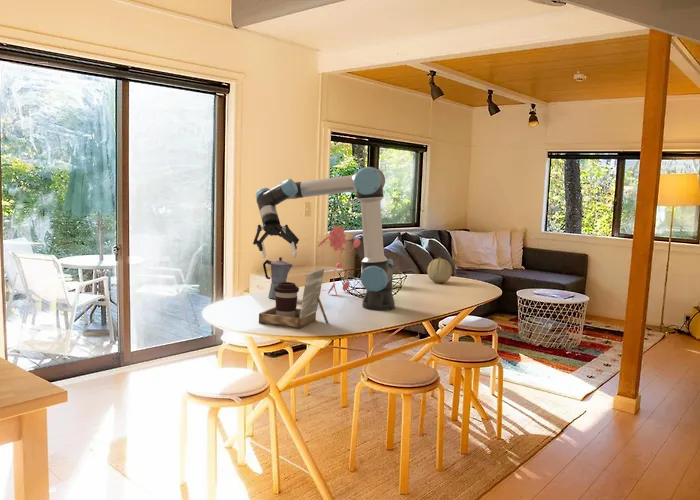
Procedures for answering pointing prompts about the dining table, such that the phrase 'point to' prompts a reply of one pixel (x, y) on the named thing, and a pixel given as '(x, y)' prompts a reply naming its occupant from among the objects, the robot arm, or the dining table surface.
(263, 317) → the cold frame
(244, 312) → the dining table surface
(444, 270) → the cantaloupe
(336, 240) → the figurine
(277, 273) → the moka pot
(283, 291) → the coffee cup
